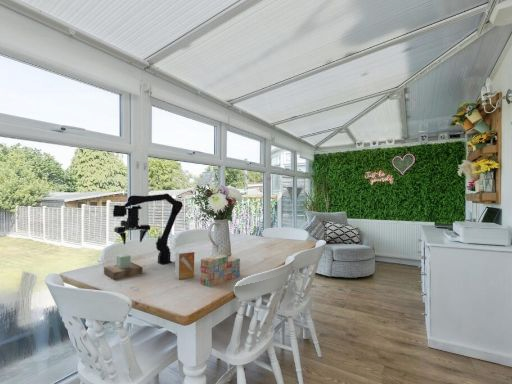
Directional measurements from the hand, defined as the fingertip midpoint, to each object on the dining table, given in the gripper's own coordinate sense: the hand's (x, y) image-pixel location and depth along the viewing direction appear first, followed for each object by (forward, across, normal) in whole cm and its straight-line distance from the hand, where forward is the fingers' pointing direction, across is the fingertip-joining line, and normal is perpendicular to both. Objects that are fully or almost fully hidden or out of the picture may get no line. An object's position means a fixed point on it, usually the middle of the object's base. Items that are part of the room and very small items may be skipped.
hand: (132, 243), depth 153 cm
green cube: (+10, +10, +13) cm, 19 cm away
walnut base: (+14, +10, +13) cm, 21 cm away
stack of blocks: (+13, -20, +57) cm, 62 cm away
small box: (+13, -10, +40) cm, 43 cm away
